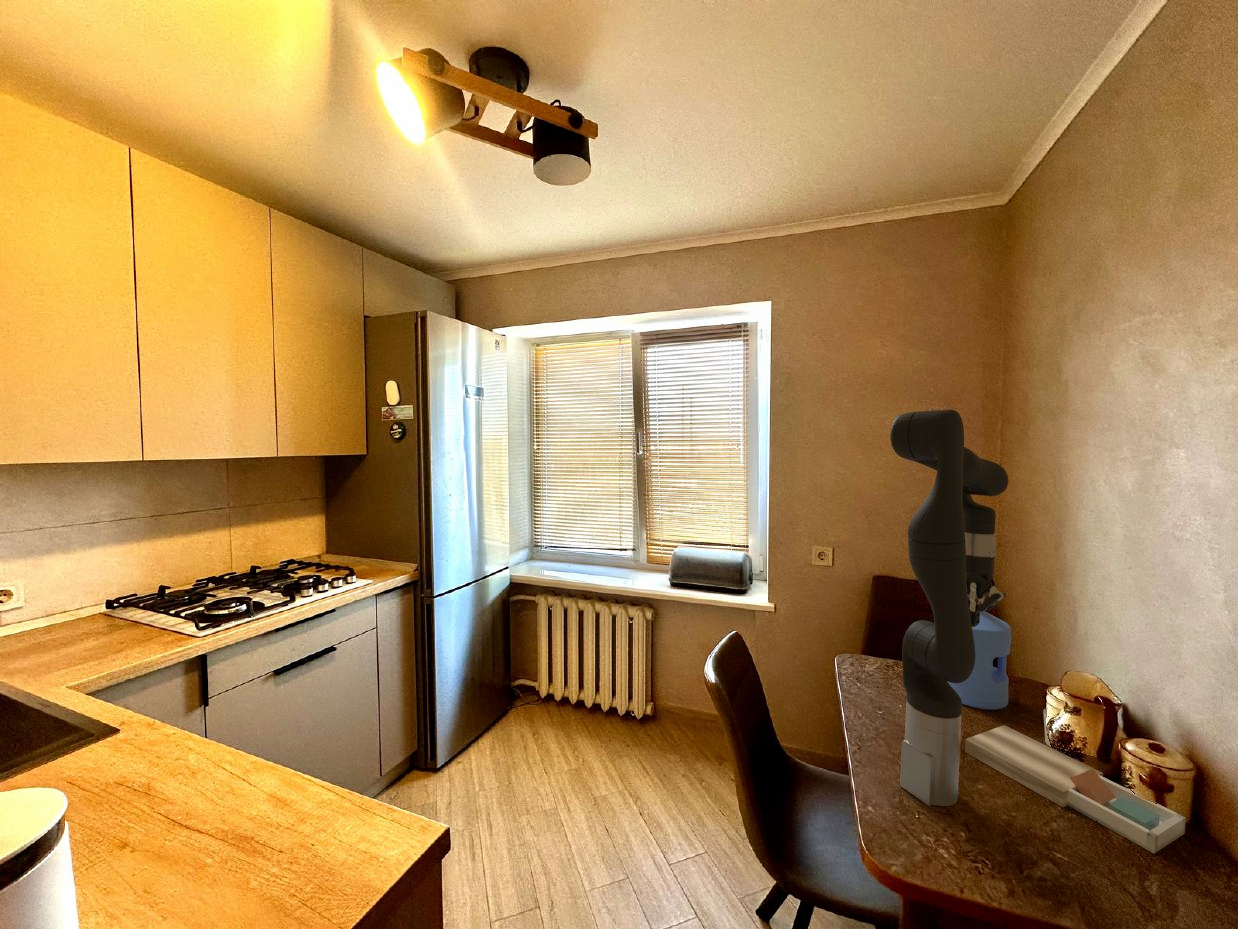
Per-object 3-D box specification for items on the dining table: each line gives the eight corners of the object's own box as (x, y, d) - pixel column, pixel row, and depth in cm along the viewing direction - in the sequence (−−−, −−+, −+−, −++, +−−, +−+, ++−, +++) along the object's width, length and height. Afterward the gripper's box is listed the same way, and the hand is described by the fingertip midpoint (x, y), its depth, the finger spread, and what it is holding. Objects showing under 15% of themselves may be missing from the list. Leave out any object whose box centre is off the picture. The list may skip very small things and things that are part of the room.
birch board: (1062, 807, 94) (1063, 792, 94) (964, 752, 111) (965, 739, 111) (1102, 787, 100) (1103, 773, 100) (1003, 737, 116) (1003, 725, 116)
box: (1154, 853, 84) (1155, 836, 84) (1067, 805, 95) (1068, 790, 95) (1184, 833, 88) (1185, 817, 88) (1098, 789, 99) (1099, 775, 99)
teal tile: (1108, 804, 92) (1107, 814, 92) (1145, 823, 87) (1144, 834, 87) (1123, 796, 94) (1122, 806, 94) (1159, 815, 89) (1159, 826, 89)
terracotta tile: (1091, 807, 94) (1101, 805, 92) (1069, 777, 97) (1078, 774, 95) (1105, 800, 96) (1115, 797, 94) (1083, 771, 99) (1092, 768, 97)
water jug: (944, 703, 131) (948, 599, 130) (932, 677, 146) (936, 583, 144) (1017, 717, 125) (1022, 608, 124) (997, 688, 139) (1002, 590, 138)
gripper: (935, 546, 118) (932, 618, 119) (996, 559, 106) (991, 639, 107) (955, 544, 121) (952, 614, 122) (1017, 556, 109) (1013, 634, 110)
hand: (970, 625), depth 114 cm, fingers closed
